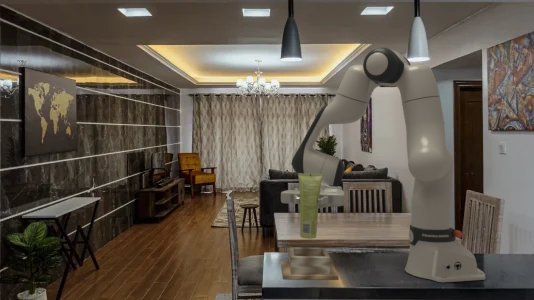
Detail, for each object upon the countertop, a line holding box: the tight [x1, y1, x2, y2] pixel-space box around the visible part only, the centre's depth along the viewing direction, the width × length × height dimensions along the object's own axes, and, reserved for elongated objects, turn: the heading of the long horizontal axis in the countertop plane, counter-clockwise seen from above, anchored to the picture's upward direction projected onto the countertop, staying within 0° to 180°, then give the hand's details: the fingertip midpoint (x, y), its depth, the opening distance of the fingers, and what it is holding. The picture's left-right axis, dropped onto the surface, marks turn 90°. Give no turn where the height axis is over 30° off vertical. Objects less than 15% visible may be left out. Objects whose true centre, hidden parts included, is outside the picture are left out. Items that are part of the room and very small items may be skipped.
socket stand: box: [281, 246, 339, 281], centre depth 131 cm, size 16×14×6 cm
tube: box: [297, 173, 322, 240], centre depth 131 cm, size 6×5×20 cm
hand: (308, 201), depth 130 cm, fingers closed on tube, 6 cm apart
